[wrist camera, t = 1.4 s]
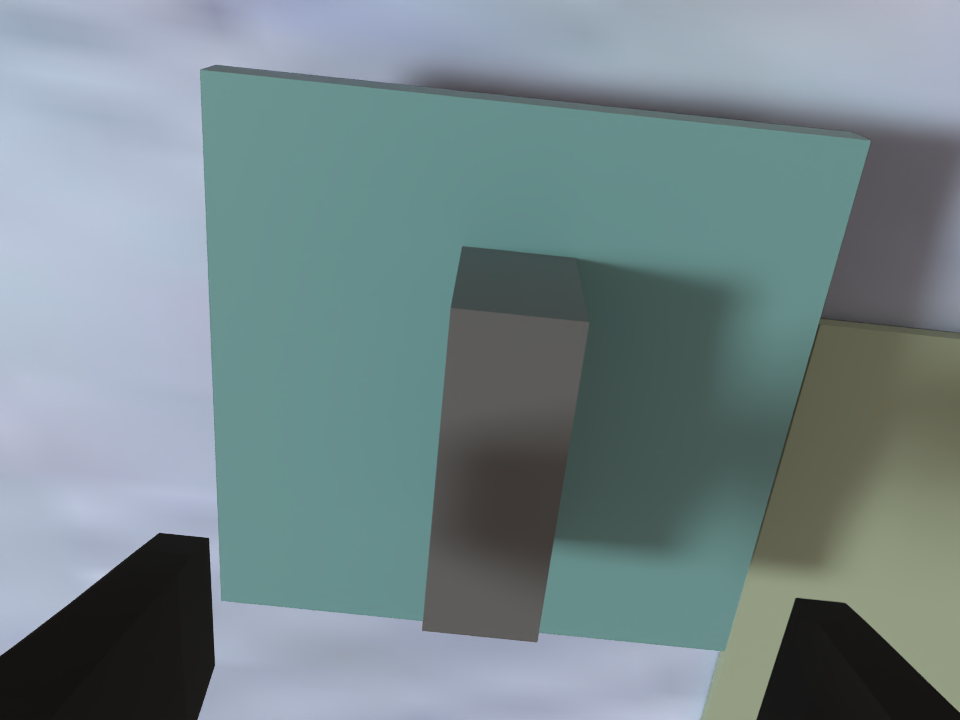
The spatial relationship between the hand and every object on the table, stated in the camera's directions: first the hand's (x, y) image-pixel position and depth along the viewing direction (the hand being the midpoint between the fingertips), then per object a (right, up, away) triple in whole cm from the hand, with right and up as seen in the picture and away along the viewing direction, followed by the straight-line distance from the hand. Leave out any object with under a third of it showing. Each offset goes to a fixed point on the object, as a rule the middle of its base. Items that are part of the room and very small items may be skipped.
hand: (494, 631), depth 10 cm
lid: (0, +3, +7) cm, 8 cm away
